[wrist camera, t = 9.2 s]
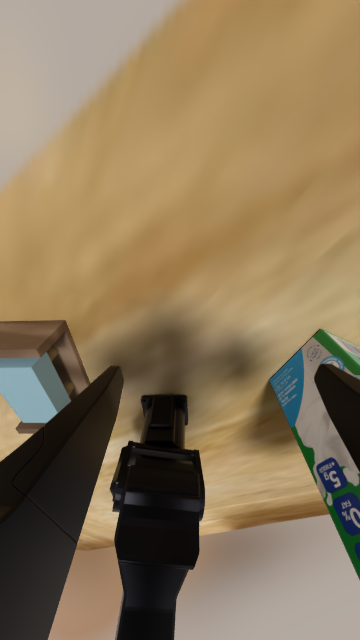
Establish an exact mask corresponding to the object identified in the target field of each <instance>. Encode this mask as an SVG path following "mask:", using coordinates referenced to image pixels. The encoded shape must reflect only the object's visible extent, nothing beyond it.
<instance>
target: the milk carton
mask: <svg viewBox="0 0 360 640" xmlns="http://www.w3.org/2000/svg"><path fill="white" fill-rule="evenodd" d="M324 363H329V364H333V365H334V366H336V367H338V368H340V369H341V370H343V371H345V372H347V373H348V374H350V375H352V376H354V377H355V378H357V379H359V380H360V347H359V346H357V345H354V344H352V343H350V342H348V341H346V340H344V339H341V338H339V337H337V336H335V335H333V334H331V333H329V332H326V331H324V330H322V329H320V330H319V331H318V332H317V333H316V334H315V335H314V336H313V337H312V338H311V339H310V340H309V341H308V342H307V343H306V344H305V345H304V346H303V347H302V348H301V349H300V350H299V351H298V352H297V353H296V354H295V355H294V356H293V357H292V358H291V359H290V360H289V361H288V362H287V363H286V364H285V365H284V366H283V367H282V368H281V369H280V370H279V371H278V372H277V373H276V374H275V375H274V376H273V377H272V378H271V379H270V380H269V381H270V383H271V385H272V388H273V390H274V392H275V394H276V396H277V399H278V401H279V403H280V405H281V407H282V410H283V412H284V414H285V416H286V418H287V421H288V423H289V425H290V427H291V429H292V432H293V434H294V436H295V438H296V440H297V443H298V445H299V447H300V449H301V452H302V454H303V456H304V458H305V460H306V463H307V465H308V467H309V469H310V471H311V474H312V476H313V478H314V480H315V482H316V485H317V487H318V489H319V491H320V493H321V496H322V498H323V500H324V502H325V504H326V507H327V509H328V511H329V513H330V515H331V518H332V520H333V522H334V524H335V527H336V529H337V531H338V533H339V535H340V538H341V540H342V542H343V544H344V546H345V549H346V551H347V553H348V555H349V557H350V559H351V562H352V564H353V566H354V568H355V571H356V573H357V575H358V577H359V579H360V472H359V471H358V469H357V467H356V465H355V463H354V461H353V459H352V458H351V456H350V454H349V452H348V450H347V448H346V447H345V445H344V443H343V441H342V439H341V437H340V435H339V434H338V432H337V430H336V428H335V426H334V424H333V423H332V421H331V419H330V417H329V415H328V413H327V411H326V408H325V406H324V403H323V401H322V399H321V396H320V394H319V392H318V389H317V387H316V384H315V382H314V375H315V373H316V371H317V368H318V366H319V365H320V364H324Z"/></svg>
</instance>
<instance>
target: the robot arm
mask: <svg viewBox="0 0 360 640" xmlns="http://www.w3.org/2000/svg"><path fill="white" fill-rule="evenodd" d="M314 382H315V384H316V387H317V389H318V392H319V394H320V396H321V399H322V401H323V403H324V406H325V408H326V411H327V413H328V415H329V417H330V419H331V421H332V423H333V424H334V426H335V428H336V430H337V432H338V434H339V435H340V437H341V439H342V441H343V443H344V445H345V447H346V448H347V450H348V452H349V454H350V456H351V458H352V459H353V461H354V463H355V465H356V467H357V469H358V471H359V472H360V380H359V379H357V378H355V377H354V376H352V375H350V374H348V373H347V372H345V371H343V370H341V369H340V368H338V367H336V366H334V365H333V364H329V363H324V364H320V365H319V366H318V368H317V371H316V373H315V375H314ZM123 383H124V378H123V374H122V371H121V367H120V366H110V367H109V368H108V369H107V370H106V371H104V372H103V373H102V374H101V375H100V376H99V377H98V378H97V379H95V380H94V381H93V382H92V383H91V384H90V385H89V386H88V387H86V388H85V389H84V390H83V391H82V392H81V393H80V394H79V395H77V396H76V397H75V398H74V399H73V400H72V401H71V402H70V403H68V404H67V405H66V406H65V407H64V408H63V409H62V410H60V411H59V412H58V413H57V414H56V415H55V416H54V417H53V418H51V419H50V420H49V421H48V422H47V423H46V424H45V425H44V426H43V427H41V428H40V429H39V430H38V431H37V432H36V433H35V434H33V435H32V436H31V437H30V438H29V439H28V440H26V441H25V442H24V443H23V444H22V445H21V446H19V447H18V448H17V449H16V450H14V451H13V452H12V453H11V454H9V455H8V456H7V457H6V458H5V459H3V460H2V461H1V462H0V640H48V637H49V633H50V630H51V627H52V624H53V621H54V617H55V614H56V611H57V608H58V604H59V601H60V598H61V595H62V591H63V588H64V585H65V582H66V578H67V575H68V572H69V569H70V566H71V562H72V559H73V556H74V553H75V550H76V546H77V542H78V540H79V536H80V533H81V530H82V527H83V524H84V520H85V517H86V514H87V511H88V507H89V504H90V501H91V498H92V495H93V491H94V488H95V485H96V482H97V478H98V475H99V472H100V469H101V466H102V462H103V459H104V456H105V453H106V450H107V446H108V443H109V440H110V437H111V433H112V430H113V427H114V424H115V421H116V417H117V413H118V409H119V403H120V398H121V393H122V388H123ZM141 403H142V408H143V412H144V417H145V419H144V424H143V429H142V435H141V440H140V443H137V442H133V441H129V442H128V446H126V447H123V448H122V450H121V454H120V458H119V462H118V465H117V468H116V471H115V474H114V477H113V480H112V483H111V487H110V491H111V493H112V495H113V502H114V504H113V512H120V513H119V518H118V522H117V527H116V532H115V538H114V541H115V548H116V553H117V558H118V564H119V568H120V574H121V579H122V585H123V595H122V601H121V607H120V613H119V619H118V625H117V631H116V637H115V640H174V630H175V611H176V599H177V596H178V593H179V591H180V589H181V586H182V584H183V582H184V579H185V577H186V575H187V572H188V570H189V569H190V570H193V569H194V567H195V564H196V561H197V558H198V555H199V521H201V520H202V518H203V514H204V506H205V487H204V480H203V474H202V467H201V461H200V455H199V450H188V449H185V425H188V408H187V397H186V396H142V397H141ZM129 465H131V466H129Z"/></svg>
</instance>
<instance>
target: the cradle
mask: <svg viewBox="0 0 360 640" xmlns="http://www.w3.org/2000/svg"><path fill="white" fill-rule="evenodd" d="M46 352H47V354H48V356H49V358H50V360H51V362H52V364H53V366H54V368H55V370H56V372H57V374H58V376H59V378H60V380H61V382H62V384H63V386H64V388H65V390H66V392H67V394H68V396H69V398H70V400H71V401H72V400H73V399H74V398H75V397H76V396H77V395H79V394H80V393H81V392H82V391H83V390H84V389H85V388H86V387H88V386H89V385H90V382H89V380H88V377H87V374H86V372H85V369H84V367H83V364H82V362H81V359H80V357H79V354H78V352H77V349H76V347H75V344H74V342H73V339H72V337H71V334H70V331H69V329H68V326H67V324H66V321H65V320H58V321H11V322H0V358H41V357H42V356H43V355H44V354H45V353H46ZM45 424H46V423H23V422H22V421H21V422H20V423H19V425H18V426H17V427H16V430H17V431H18V433H36V432H37V431H38V430H39V429H40V428H41V427H43V426H44V425H45Z"/></svg>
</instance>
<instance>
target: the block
mask: <svg viewBox="0 0 360 640" xmlns="http://www.w3.org/2000/svg"><path fill="white" fill-rule="evenodd" d="M0 393H1V394H2V396H3V397H4V398H5V400H6V401H7V402H8V404H9V405H10V406H11V408H12V409H13V410H14V412H15V413H16V414H17V416H18V417H19V418H20V419H21V421H22V422H23V423H47V422H48V421H49V420H50V419H51V418H53V417H54V416H55V415H56V414H57V413H58V412H59V411H60V410H62V409H63V408H64V407H65V406H66V405H67V404H68V403H70V402H71V400H70V398H69V396H68V394H67V392H66V390H65V388H64V386H63V384H62V382H61V380H60V378H59V376H58V374H57V372H56V370H55V368H54V366H53V364H52V362H51V360H50V358H49V356H48V354H47V352H46V353H45V354H44V355H43V356H42V357H41V358H0Z"/></svg>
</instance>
